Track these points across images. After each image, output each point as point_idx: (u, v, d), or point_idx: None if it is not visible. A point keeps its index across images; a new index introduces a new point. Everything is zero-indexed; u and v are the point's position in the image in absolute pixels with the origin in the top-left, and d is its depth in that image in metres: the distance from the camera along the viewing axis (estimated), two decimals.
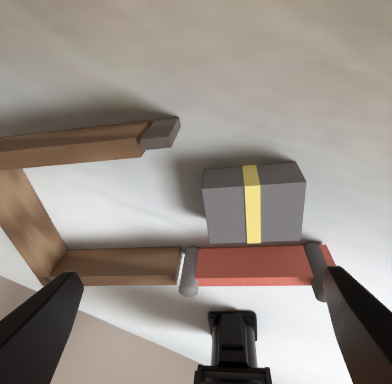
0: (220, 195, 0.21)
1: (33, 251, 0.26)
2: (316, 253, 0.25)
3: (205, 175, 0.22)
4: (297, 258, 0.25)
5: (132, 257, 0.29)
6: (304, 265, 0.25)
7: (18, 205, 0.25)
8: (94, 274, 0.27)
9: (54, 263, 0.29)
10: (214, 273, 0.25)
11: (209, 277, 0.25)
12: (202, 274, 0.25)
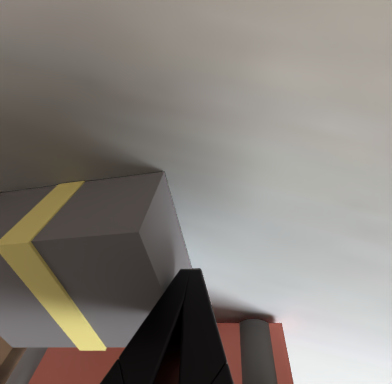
0: None
1: None
2: (258, 348, 0.13)
3: None
4: None
5: None
6: None
7: None
8: None
9: None
10: None
11: None
12: None
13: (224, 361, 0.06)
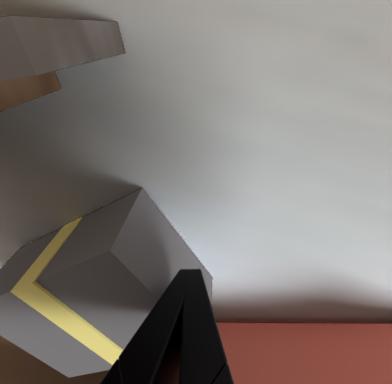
0: None
1: None
2: None
3: (3, 266, 0.12)
4: None
5: None
6: None
7: None
8: None
9: None
10: None
11: None
12: None
13: (224, 361, 0.06)
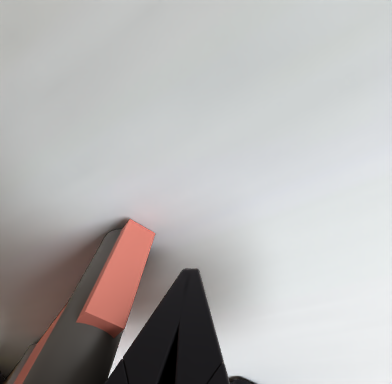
0: None
1: None
2: (91, 262, 0.10)
3: None
4: None
5: None
6: None
7: None
8: None
9: None
10: None
11: None
12: None
13: (220, 361, 0.06)
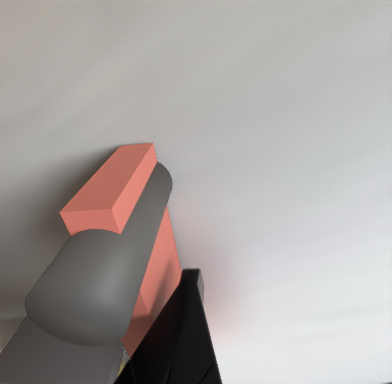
0: None
1: None
2: None
3: None
4: None
5: None
6: None
7: None
8: None
9: None
10: None
11: None
12: None
13: (213, 361, 0.06)
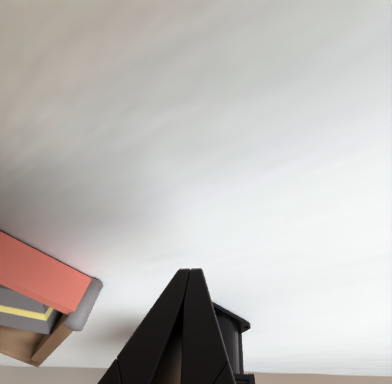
0: (4, 319, 0.30)
1: (3, 347, 0.33)
2: None
3: None
4: None
5: (63, 314, 0.31)
6: None
7: None
8: (43, 343, 0.31)
9: (33, 346, 0.35)
10: None
11: (57, 309, 0.26)
12: None
13: (226, 361, 0.06)
